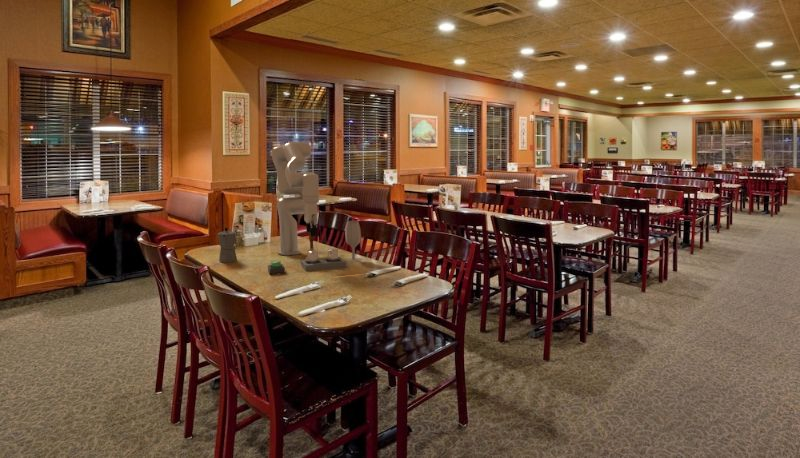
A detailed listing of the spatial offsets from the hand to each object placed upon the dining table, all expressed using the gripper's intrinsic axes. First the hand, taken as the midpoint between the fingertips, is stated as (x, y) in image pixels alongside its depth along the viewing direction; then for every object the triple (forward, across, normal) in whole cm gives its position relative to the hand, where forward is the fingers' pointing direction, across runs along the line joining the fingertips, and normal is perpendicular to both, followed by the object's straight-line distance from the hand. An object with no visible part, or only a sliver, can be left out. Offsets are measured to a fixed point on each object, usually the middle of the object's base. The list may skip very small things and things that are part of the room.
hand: (311, 233), depth 246 cm
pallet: (+17, +1, +5) cm, 18 cm away
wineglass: (+18, -7, +23) cm, 30 cm away
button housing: (+18, +1, -18) cm, 25 cm away
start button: (+15, +1, -18) cm, 23 cm away
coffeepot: (+19, -35, -38) cm, 55 cm away
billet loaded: (+17, +1, +10) cm, 19 cm away
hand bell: (+18, -17, +3) cm, 25 cm away
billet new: (+17, +1, 0) cm, 17 cm away
